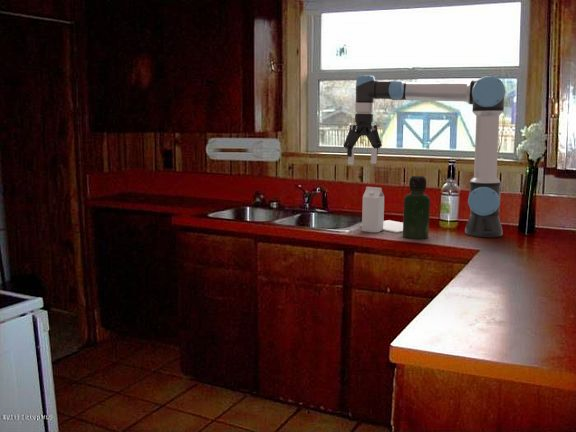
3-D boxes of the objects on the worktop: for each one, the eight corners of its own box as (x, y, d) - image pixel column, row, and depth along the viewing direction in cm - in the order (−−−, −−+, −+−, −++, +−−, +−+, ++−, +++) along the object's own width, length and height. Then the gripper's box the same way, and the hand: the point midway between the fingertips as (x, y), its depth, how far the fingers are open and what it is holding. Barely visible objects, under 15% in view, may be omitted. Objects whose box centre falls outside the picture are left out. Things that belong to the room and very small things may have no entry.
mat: (426, 228, 278) (426, 226, 278) (397, 233, 266) (397, 231, 266) (388, 221, 295) (388, 220, 295) (359, 225, 283) (359, 224, 283)
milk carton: (368, 228, 276) (369, 185, 272) (383, 230, 272) (384, 187, 269) (361, 231, 270) (362, 187, 266) (376, 233, 266) (378, 188, 263)
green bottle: (429, 235, 262) (432, 175, 258) (426, 240, 252) (429, 178, 248) (404, 233, 265) (407, 174, 261) (400, 238, 255) (403, 177, 251)
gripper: (378, 113, 272) (376, 162, 275) (335, 112, 257) (334, 164, 260) (391, 113, 266) (389, 163, 270) (348, 113, 251) (346, 165, 254)
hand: (362, 164), depth 265 cm, fingers open, 13 cm apart
